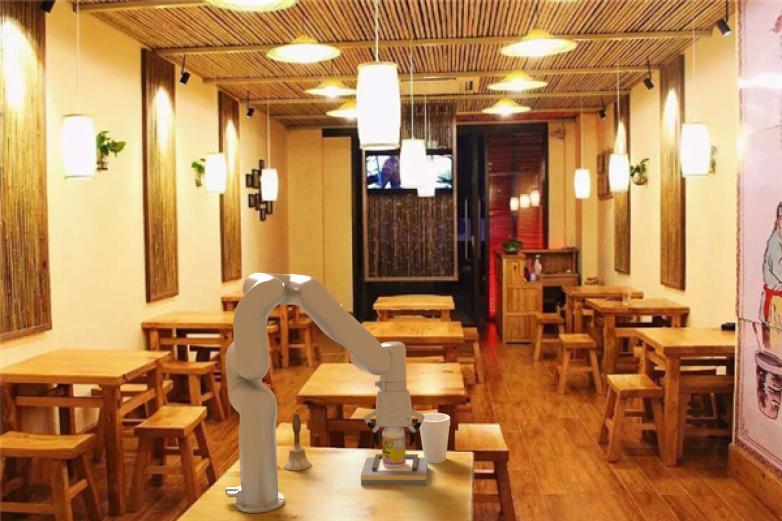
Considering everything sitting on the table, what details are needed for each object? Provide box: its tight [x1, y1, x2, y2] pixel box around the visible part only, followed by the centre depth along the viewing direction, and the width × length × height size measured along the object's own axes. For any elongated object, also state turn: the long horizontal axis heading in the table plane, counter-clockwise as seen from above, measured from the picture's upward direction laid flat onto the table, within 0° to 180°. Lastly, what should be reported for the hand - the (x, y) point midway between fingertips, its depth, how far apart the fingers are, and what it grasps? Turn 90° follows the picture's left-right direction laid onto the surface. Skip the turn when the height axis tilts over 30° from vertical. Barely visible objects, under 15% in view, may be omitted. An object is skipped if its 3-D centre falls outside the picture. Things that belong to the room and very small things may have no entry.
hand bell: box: [283, 412, 312, 472], centre depth 216 cm, size 8×8×16 cm
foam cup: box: [419, 412, 451, 464], centre depth 219 cm, size 10×9×13 cm
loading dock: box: [360, 456, 429, 487], centre depth 206 cm, size 18×14×3 cm
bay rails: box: [372, 453, 419, 471], centre depth 208 cm, size 12×11×1 cm
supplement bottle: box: [381, 427, 406, 468], centre depth 206 cm, size 7×7×13 cm
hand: (394, 444), depth 207 cm, fingers open, 9 cm apart
